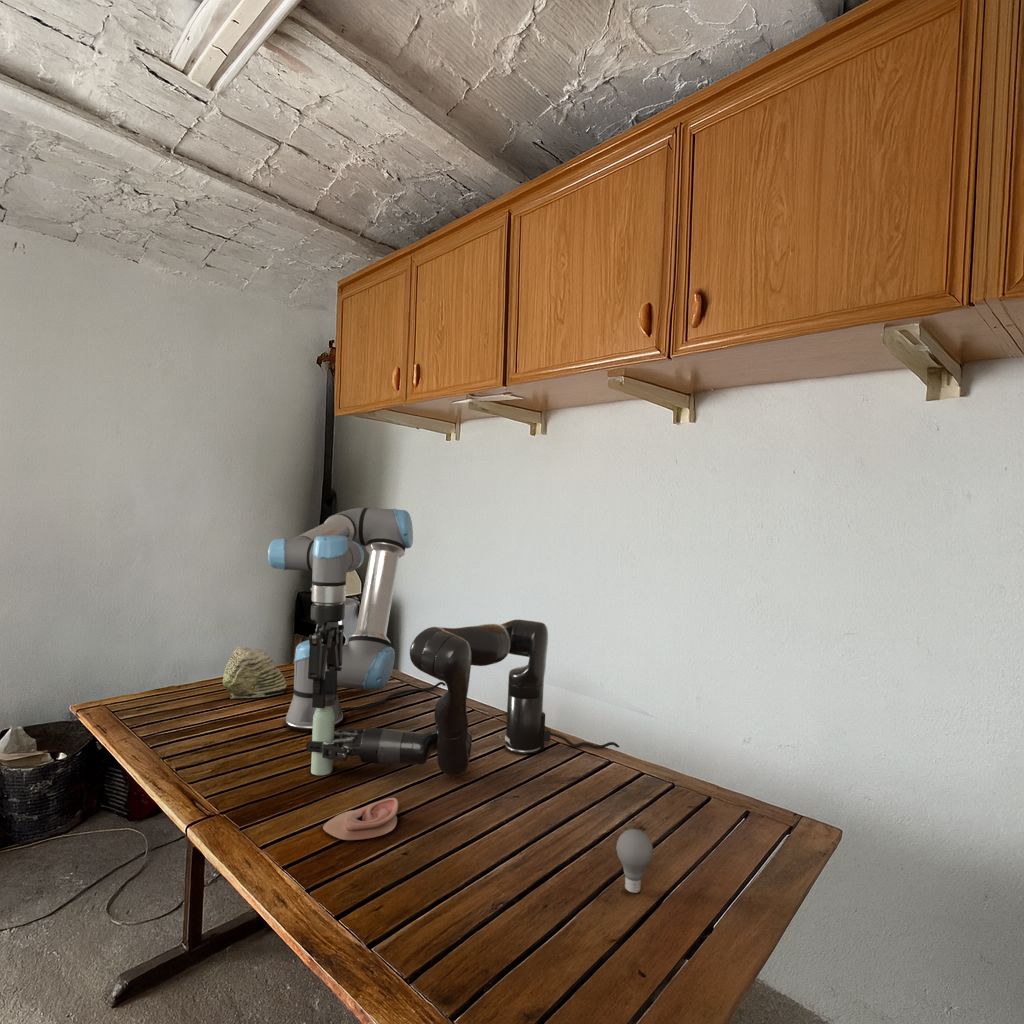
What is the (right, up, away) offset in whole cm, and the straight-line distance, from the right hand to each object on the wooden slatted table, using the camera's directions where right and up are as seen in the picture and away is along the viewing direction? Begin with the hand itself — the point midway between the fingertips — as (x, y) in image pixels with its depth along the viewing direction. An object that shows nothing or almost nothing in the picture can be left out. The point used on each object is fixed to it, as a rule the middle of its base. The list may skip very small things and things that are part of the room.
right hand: (311, 741), depth 146 cm
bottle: (+2, -7, 0) cm, 7 cm away
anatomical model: (+17, -8, -24) cm, 30 cm away
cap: (+3, +11, 0) cm, 11 cm away
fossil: (-34, -4, +52) cm, 62 cm away
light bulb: (+66, -10, -40) cm, 78 cm away
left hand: (+3, +9, 0) cm, 9 cm away
